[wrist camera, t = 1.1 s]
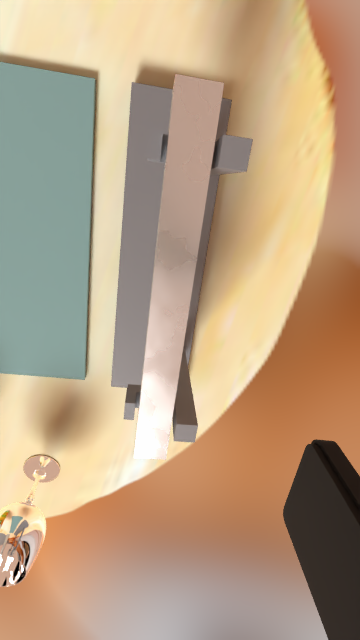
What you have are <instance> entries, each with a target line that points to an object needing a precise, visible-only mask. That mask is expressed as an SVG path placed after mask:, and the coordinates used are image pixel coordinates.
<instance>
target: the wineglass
mask: <svg viewBox="0 0 360 640" xmlns="http://www.w3.org/2000/svg"><path fill="white" fill-rule="evenodd" d="M23 470H24V473H25V475H26V476H27V477H28V478H30V479H31V480H33V481H35V482H34V485H33V487H32V489H31V491H30V493H29V494H28V495H27V496H26V498H25V500H24V502H16V503H12V504H9V505H7V506H5V507H3V508H2V509H1V510H0V587H7V586H12V585H16V584H18V583H20V582H21V581H22V580H24V579H25V577H26V575H27V574H28V572H29V570H30V569H31V567H32V565H33V563H34V561H35V560H36V558H37V555H38V553H39V551H40V549H41V546H42V544H43V541H44V538H45V533H46V519H45V516H44V514H43V513H42V511H41V510H40V509H39V508H38V507H36V506H35V505H33V502H34V495H35V490H36V487H37V485H38V482H50V481H52V480H54V479H56V478H57V476H58V475H59V473H60V467H59V464H58V463H57V462H56V461H55V460H54V459H52V458H50V457H48V456H43V455H37V456H33V457H30V458H29V459H27V460H26V462H25V463H24V466H23Z"/></svg>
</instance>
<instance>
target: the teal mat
mask: <svg viewBox="0 0 360 640" xmlns="http://www.w3.org/2000/svg"><path fill="white" fill-rule="evenodd" d="M95 93H96V80H95V78H89V77H83V76H78V75H72V74H66V73H61V72H55V71H49V70H44V69H38V68H32V67H27V66H21V65H15V64H10V63H4V62H0V373H5V374H18V375H31V376H43V377H56V378H69V379H82V380H85V377H86V353H87V324H88V295H89V267H90V238H91V209H92V180H93V151H94V122H95Z"/></svg>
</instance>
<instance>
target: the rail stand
mask: <svg viewBox="0 0 360 640" xmlns="http://www.w3.org/2000/svg"><path fill="white" fill-rule="evenodd" d="M172 92H173V89H168V88H162V87H157V86H151V85H145V84H140V83H134V82H132V88H131V103H130V118H129V132H128V147H127V161H126V176H125V191H124V205H123V220H122V235H121V249H120V264H119V278H118V293H117V308H116V322H115V337H114V351H113V366H112V381H111V386H112V387H125V388H127V393H126V400H125V410H124V419H127V420H134V411H135V408H139V399H140V390H141V381H142V371H143V362H144V353H145V343H146V334H147V325H148V315H149V306H150V297H151V287H152V278H153V269H154V259H155V250H156V241H157V231H158V222H159V213H160V204H161V194H162V185H163V176H164V166H165V157H166V148H167V138H168V129H169V120H170V110H171V101H172ZM231 102H232V100H230V99H224V98H222V101H221V107H220V114H219V120H218V127H217V133H216V140H215V146H214V152H213V159H212V165H211V172H210V178H209V185H208V191H207V198H206V204H205V211H204V217H203V223H202V230H201V236H200V243H199V249H198V256H197V262H196V269H195V275H194V282H193V288H192V294H191V301H190V307H189V314H188V320H187V327H186V333H185V340H184V346H183V352H182V359H181V365H180V372H179V378H178V385H177V391H176V398H175V404H174V411H173V417H172V419H173V434H174V441H181V442H195V438H196V433H197V427H198V424H197V418H196V412H195V406H194V400H193V394H192V388H191V382H190V377H189V371H188V363H189V357H190V351H191V345H192V339H193V333H194V327H195V321H196V314H197V308H198V302H199V296H200V290H201V284H202V278H203V272H204V266H205V260H206V254H207V248H208V242H209V236H210V229H211V223H212V217H213V211H214V205H215V199H216V193H217V187H218V181H219V175H221V174H229V173H238V172H247V167H248V161H249V156H250V151H251V146H252V141H253V139H248V138H242V137H236V136H230V135H226V132H227V126H228V120H229V114H230V108H231Z"/></svg>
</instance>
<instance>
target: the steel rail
mask: <svg viewBox="0 0 360 640" xmlns="http://www.w3.org/2000/svg"><path fill="white" fill-rule="evenodd" d="M223 88H224V83H222V82H217V81H211V80H206V79H200V78H195V77H189V76H184V75H178V74H175V80H174V85H173V92H172V101H171V110H170V120H169V129H168V138H167V148H166V157H165V166H164V176H163V185H162V194H161V204H160V213H159V222H158V231H157V241H156V250H155V259H154V269H153V278H152V287H151V297H150V306H149V315H148V325H147V334H146V343H145V353H144V362H143V371H142V381H141V390H140V399H139V408H138V418H137V427H136V438H135V451H134V458H146V459H165V460H166V456H167V449H168V443H169V436H170V430H171V423H172V417H173V411H174V404H175V398H176V391H177V385H178V378H179V372H180V365H181V359H182V352H183V346H184V340H185V333H186V327H187V320H188V314H189V307H190V301H191V294H192V288H193V282H194V275H195V269H196V262H197V256H198V249H199V243H200V236H201V230H202V223H203V217H204V211H205V204H206V198H207V191H208V185H209V178H210V172H211V165H212V159H213V152H214V146H215V140H216V133H217V127H218V120H219V114H220V107H221V101H222V94H223Z"/></svg>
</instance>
